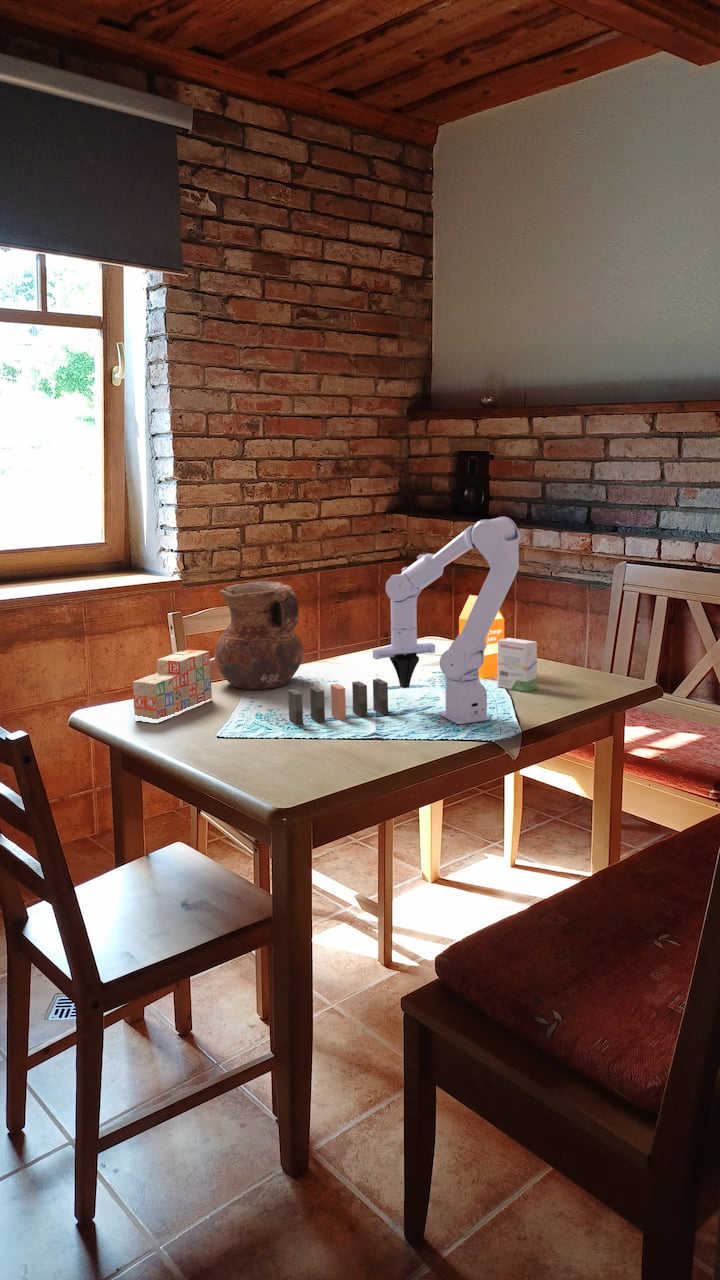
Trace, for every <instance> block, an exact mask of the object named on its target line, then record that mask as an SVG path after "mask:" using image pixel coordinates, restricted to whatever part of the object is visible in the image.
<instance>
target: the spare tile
mask: <svg viewBox="0 0 720 1280" xmlns="http://www.w3.org/2000/svg"><path fill="white" fill-rule="evenodd" d="M330 701H331V702H330V703H331V704H330V706H331V707H330V708H331V716H332V717H333V718H335V719H336V720H339V721H342V720H343V721H344V720H347V717H346V716H347V714H346V713H347V712H346V710H347V709H346V708H347V707H346V687H344V686H343V685H341V684H339V683H333V684H330Z"/></svg>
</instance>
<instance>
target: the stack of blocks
mask: <svg viewBox="0 0 720 1280" xmlns="http://www.w3.org/2000/svg"><path fill="white" fill-rule="evenodd" d="M156 666H157V672H156V673H153V674H150V675H147V676H144V677H142V678H139V679H136V680H134V681H132V689H133V696H132V697H133V707H134V716H135V715H137V716H143V717H148V718H152V719H159V718H161V717H165V716H168V715H171V714H174V713H175V712H179V711H181V710H183V709H185V708H187V707H190V706H193V705H195V704H198V703H200V702H202V701H206V700H208V699H211V698H212V699H213V692H212V690H213V689H212V669H211V668H212V667H211V653H210V651H209V650H197V649H196V650H195V649H186V650H182V651H178V652H177V651H176V652H175V653H172V654H170V655H166V656H165V657H164V656H163V657H161V658H158V659H157V660H156Z"/></svg>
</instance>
